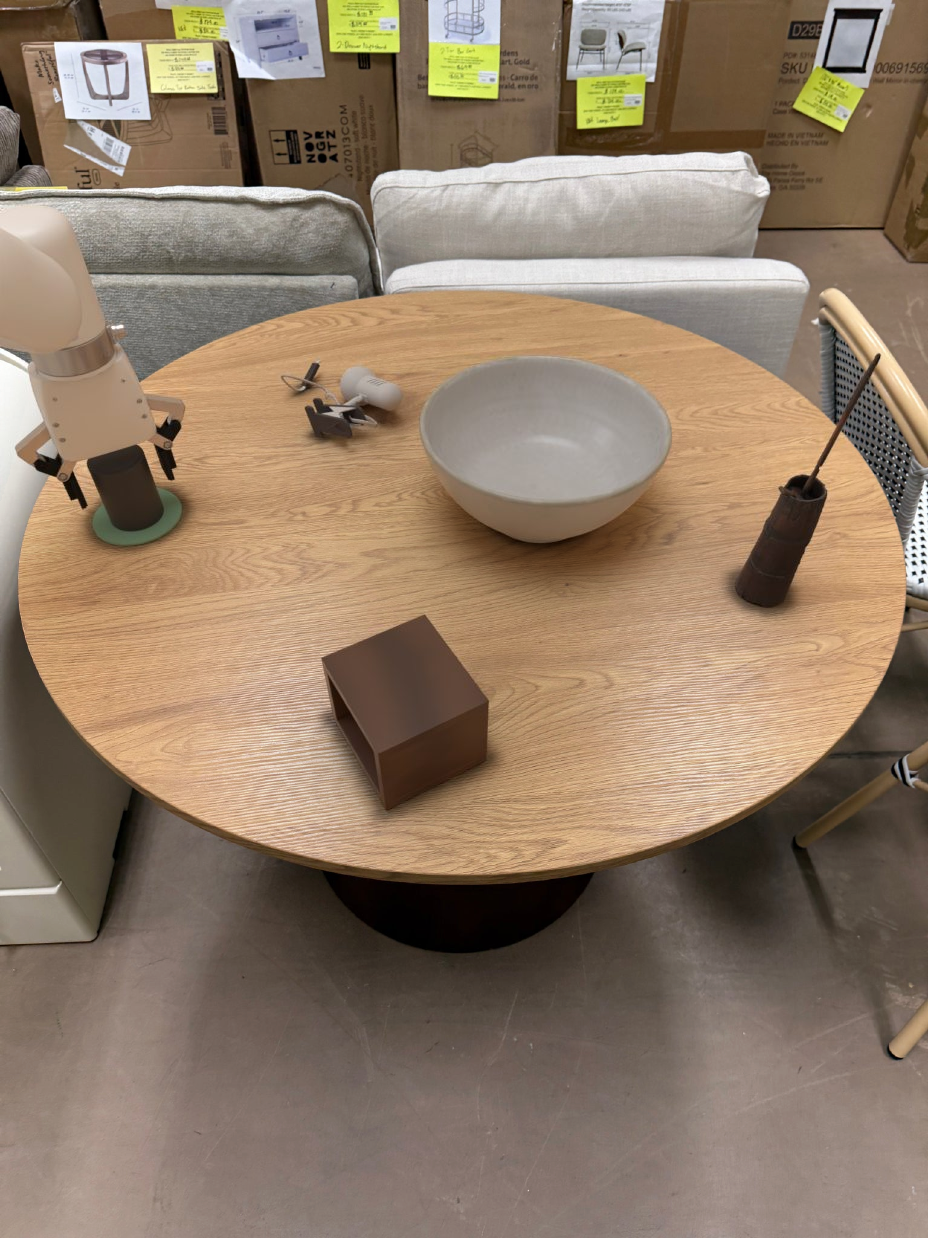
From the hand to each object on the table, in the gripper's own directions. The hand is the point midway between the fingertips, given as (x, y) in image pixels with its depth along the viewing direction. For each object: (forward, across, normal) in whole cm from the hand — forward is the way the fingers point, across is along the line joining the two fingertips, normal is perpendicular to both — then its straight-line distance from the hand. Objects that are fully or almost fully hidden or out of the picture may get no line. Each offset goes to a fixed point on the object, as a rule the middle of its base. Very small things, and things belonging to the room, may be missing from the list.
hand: (126, 487), depth 91 cm
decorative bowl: (+4, -41, +22) cm, 47 cm away
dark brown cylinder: (+4, 0, 0) cm, 4 cm away
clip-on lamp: (+4, -29, -8) cm, 31 cm away
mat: (+4, 0, 0) cm, 4 cm away
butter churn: (+4, -53, +45) cm, 70 cm away
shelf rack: (+4, -13, +43) cm, 45 cm away
